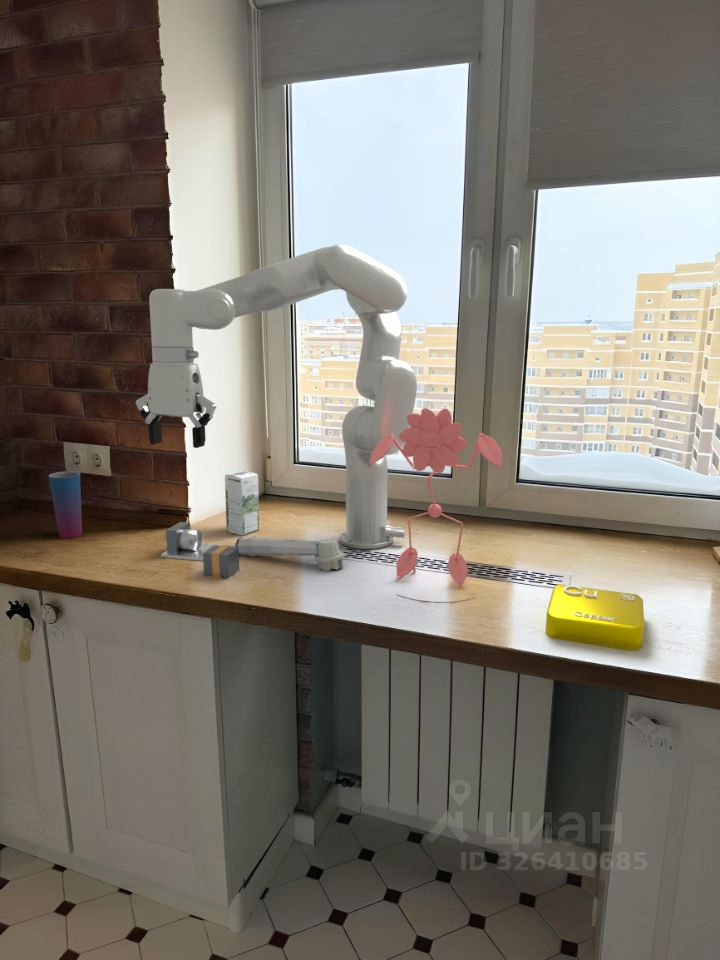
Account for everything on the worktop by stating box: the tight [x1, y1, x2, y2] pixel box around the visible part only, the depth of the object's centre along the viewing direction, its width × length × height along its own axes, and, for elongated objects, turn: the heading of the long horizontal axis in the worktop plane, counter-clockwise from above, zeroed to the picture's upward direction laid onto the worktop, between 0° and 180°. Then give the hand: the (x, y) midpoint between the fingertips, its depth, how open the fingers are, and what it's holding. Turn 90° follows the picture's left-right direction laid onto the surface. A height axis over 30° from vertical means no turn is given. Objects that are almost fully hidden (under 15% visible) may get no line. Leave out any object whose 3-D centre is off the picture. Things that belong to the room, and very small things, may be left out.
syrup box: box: [224, 470, 260, 536], centre depth 164 cm, size 6×6×14 cm
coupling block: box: [202, 544, 240, 579], centre depth 138 cm, size 6×5×5 cm
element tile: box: [544, 584, 645, 652], centre depth 115 cm, size 15×15×5 cm
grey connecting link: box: [234, 535, 345, 572], centre depth 145 cm, size 5×7×25 cm
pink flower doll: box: [370, 408, 503, 605], centre depth 127 cm, size 15×26×35 cm, turn 70°
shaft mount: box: [160, 521, 235, 562], centre depth 150 cm, size 15×9×6 cm, turn 76°
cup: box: [48, 470, 83, 539], centre depth 161 cm, size 7×7×15 cm
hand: (177, 445), depth 133 cm, fingers open, 9 cm apart
